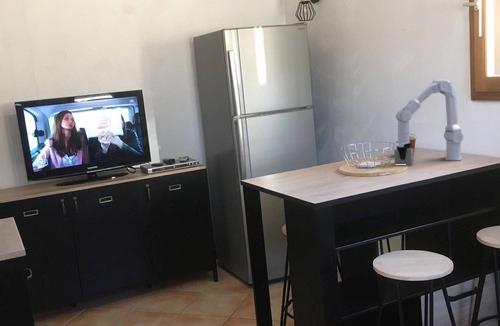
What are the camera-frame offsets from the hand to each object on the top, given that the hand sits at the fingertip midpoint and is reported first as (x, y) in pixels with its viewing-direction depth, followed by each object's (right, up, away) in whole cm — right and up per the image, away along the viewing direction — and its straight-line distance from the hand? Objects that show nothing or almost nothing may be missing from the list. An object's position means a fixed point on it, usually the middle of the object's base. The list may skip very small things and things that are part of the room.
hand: (404, 158), depth 284 cm
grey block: (0, -3, 0) cm, 3 cm away
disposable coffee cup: (+8, +1, +21) cm, 22 cm away
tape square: (0, -3, +1) cm, 3 cm away
